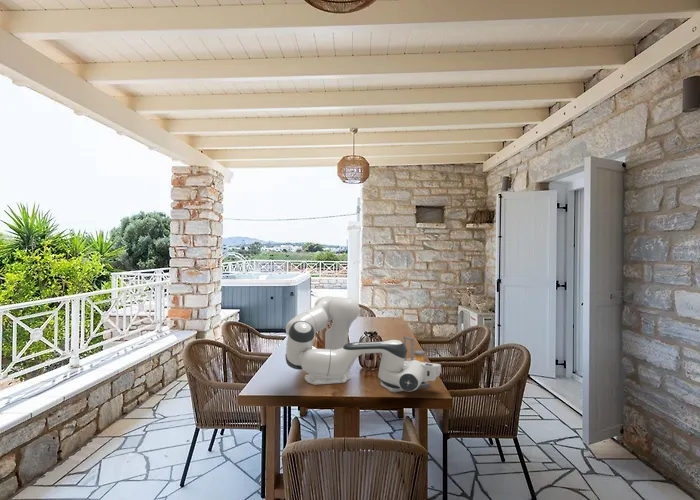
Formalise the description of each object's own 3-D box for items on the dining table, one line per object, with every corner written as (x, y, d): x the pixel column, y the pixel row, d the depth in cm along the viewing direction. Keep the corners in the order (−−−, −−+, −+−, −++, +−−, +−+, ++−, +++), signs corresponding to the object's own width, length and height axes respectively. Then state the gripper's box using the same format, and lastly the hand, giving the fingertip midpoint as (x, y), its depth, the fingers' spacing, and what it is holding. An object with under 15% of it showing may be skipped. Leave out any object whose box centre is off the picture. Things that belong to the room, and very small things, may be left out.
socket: (416, 389, 176) (416, 385, 176) (407, 384, 182) (407, 381, 182) (430, 387, 179) (430, 383, 179) (421, 382, 185) (421, 379, 185)
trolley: (392, 381, 186) (392, 341, 187) (383, 376, 195) (383, 337, 195) (416, 378, 192) (415, 339, 192) (406, 373, 200) (405, 335, 200)
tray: (392, 392, 171) (392, 387, 171) (380, 385, 181) (380, 380, 182) (414, 389, 176) (414, 384, 176) (401, 382, 186) (401, 377, 186)
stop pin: (418, 380, 178) (418, 353, 178) (412, 377, 182) (412, 350, 182) (426, 378, 180) (426, 352, 180) (420, 375, 184) (420, 349, 184)
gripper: (390, 376, 172) (397, 367, 185) (438, 381, 165) (442, 372, 178) (390, 361, 172) (397, 354, 185) (438, 366, 165) (442, 358, 178)
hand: (419, 363), depth 182 cm, fingers closed on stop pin, 4 cm apart
